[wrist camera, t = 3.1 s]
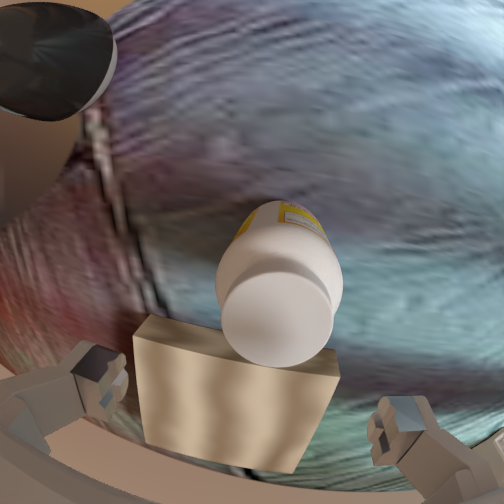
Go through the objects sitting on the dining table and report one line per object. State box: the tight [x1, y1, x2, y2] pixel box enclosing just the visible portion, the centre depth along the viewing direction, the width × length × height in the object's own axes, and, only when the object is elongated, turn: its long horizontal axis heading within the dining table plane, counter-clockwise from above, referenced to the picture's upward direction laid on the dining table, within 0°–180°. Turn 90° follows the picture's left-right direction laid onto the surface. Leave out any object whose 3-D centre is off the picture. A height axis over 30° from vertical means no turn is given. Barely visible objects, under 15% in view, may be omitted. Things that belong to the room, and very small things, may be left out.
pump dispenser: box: [0, 2, 117, 122], centre depth 14 cm, size 10×10×15 cm
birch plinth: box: [133, 314, 340, 474], centre depth 28 cm, size 18×17×4 cm
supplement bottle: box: [215, 201, 343, 368], centre depth 18 cm, size 7×7×13 cm
